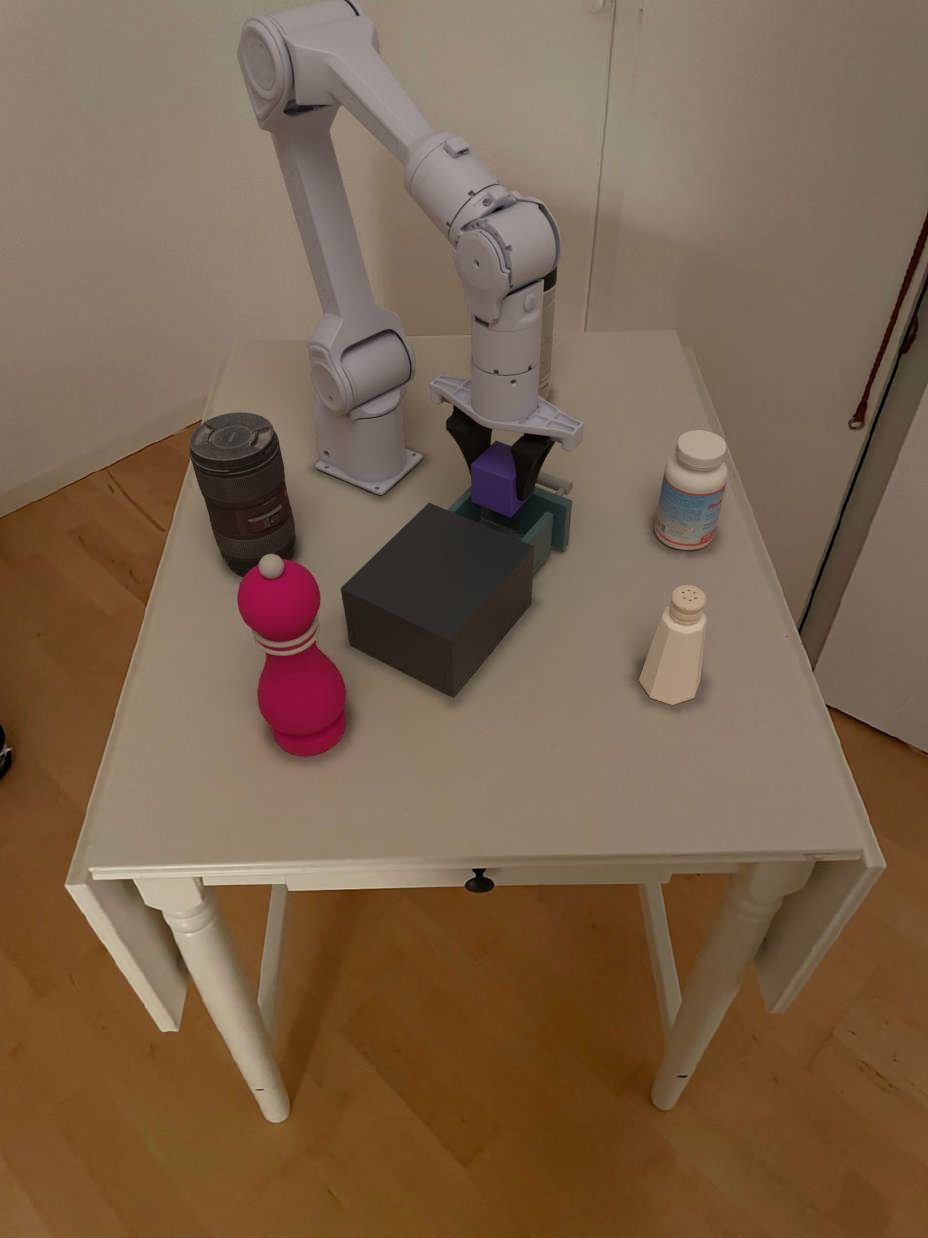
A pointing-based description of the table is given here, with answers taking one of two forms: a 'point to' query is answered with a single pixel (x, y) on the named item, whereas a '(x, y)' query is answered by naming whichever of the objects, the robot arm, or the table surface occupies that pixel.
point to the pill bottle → (692, 491)
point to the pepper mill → (292, 657)
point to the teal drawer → (530, 516)
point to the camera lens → (244, 488)
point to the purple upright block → (495, 480)
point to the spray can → (547, 332)
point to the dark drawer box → (439, 597)
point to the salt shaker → (677, 648)
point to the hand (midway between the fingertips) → (503, 485)
